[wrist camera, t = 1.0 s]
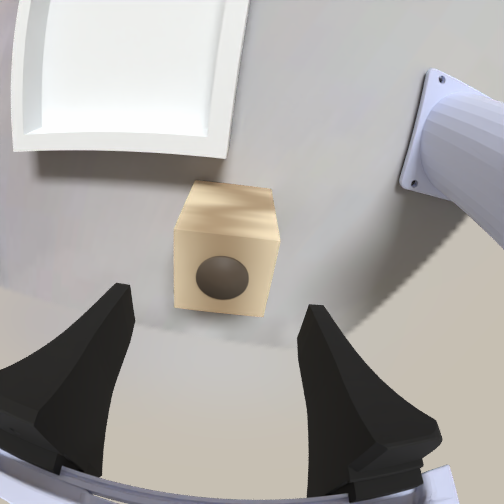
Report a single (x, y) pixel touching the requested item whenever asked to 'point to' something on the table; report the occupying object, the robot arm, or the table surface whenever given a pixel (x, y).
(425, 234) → the table surface
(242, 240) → the bore block
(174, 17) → the tray
